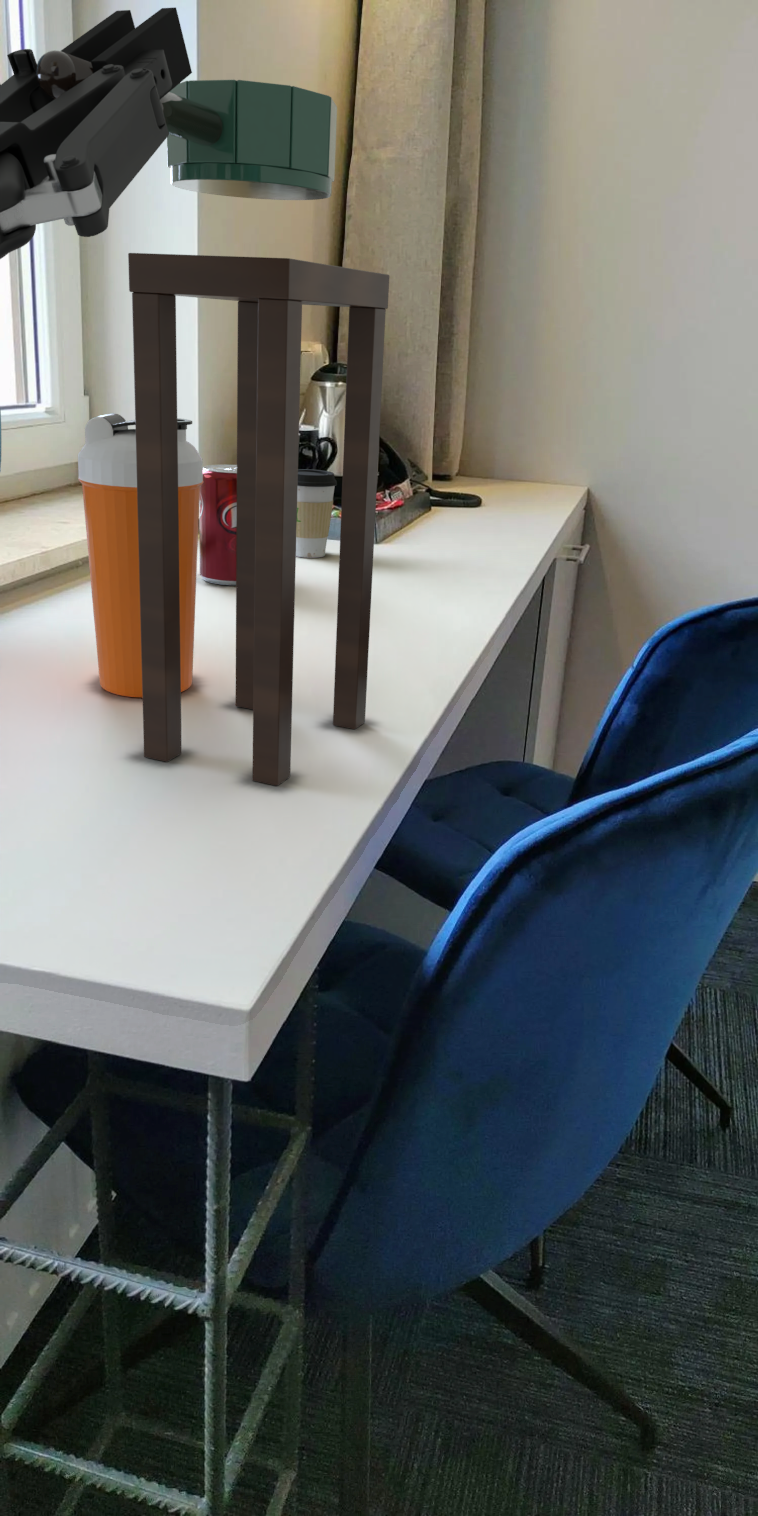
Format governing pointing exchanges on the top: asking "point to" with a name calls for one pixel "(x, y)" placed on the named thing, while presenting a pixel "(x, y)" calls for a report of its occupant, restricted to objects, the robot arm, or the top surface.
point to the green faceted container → (234, 133)
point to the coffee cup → (313, 511)
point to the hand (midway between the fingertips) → (154, 42)
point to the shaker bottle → (132, 548)
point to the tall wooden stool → (255, 484)
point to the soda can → (218, 524)
